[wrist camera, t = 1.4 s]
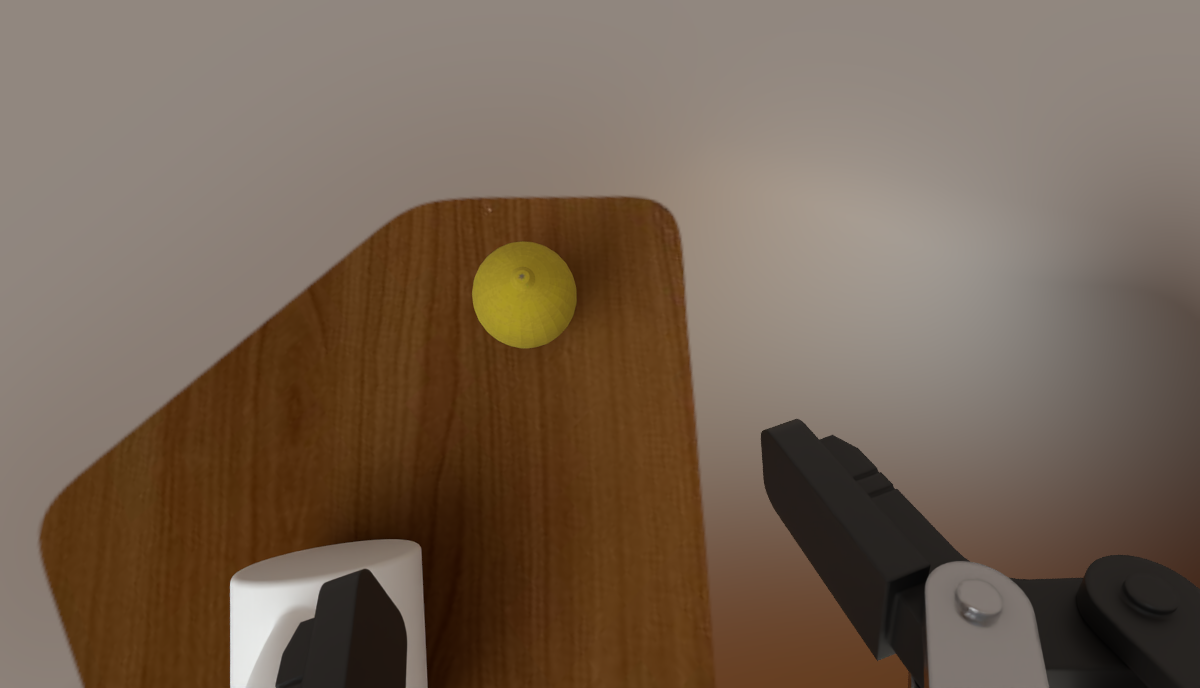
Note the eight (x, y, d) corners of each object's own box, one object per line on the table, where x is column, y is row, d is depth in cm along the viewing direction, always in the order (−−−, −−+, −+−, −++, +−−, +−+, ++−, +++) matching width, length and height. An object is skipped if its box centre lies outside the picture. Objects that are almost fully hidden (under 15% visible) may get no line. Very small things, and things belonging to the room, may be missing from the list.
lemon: (545, 252, 35) (545, 200, 27) (589, 329, 34) (602, 300, 27) (464, 293, 34) (440, 253, 26) (508, 373, 34) (497, 356, 26)
